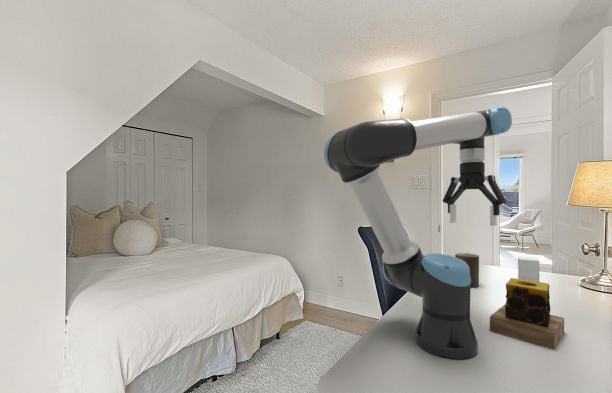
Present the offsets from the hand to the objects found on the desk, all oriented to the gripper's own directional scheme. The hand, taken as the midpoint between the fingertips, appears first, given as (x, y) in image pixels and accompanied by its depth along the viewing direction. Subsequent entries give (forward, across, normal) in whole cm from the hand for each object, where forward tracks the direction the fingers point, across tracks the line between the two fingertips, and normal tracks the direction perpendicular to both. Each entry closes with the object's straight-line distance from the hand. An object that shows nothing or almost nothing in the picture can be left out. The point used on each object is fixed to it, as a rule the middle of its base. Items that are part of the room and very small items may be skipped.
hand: (472, 224), depth 104 cm
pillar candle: (+31, +18, -31) cm, 48 cm away
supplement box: (+31, +2, -51) cm, 60 cm away
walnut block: (+31, -17, +2) cm, 35 cm away
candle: (+26, -17, +2) cm, 31 cm away
